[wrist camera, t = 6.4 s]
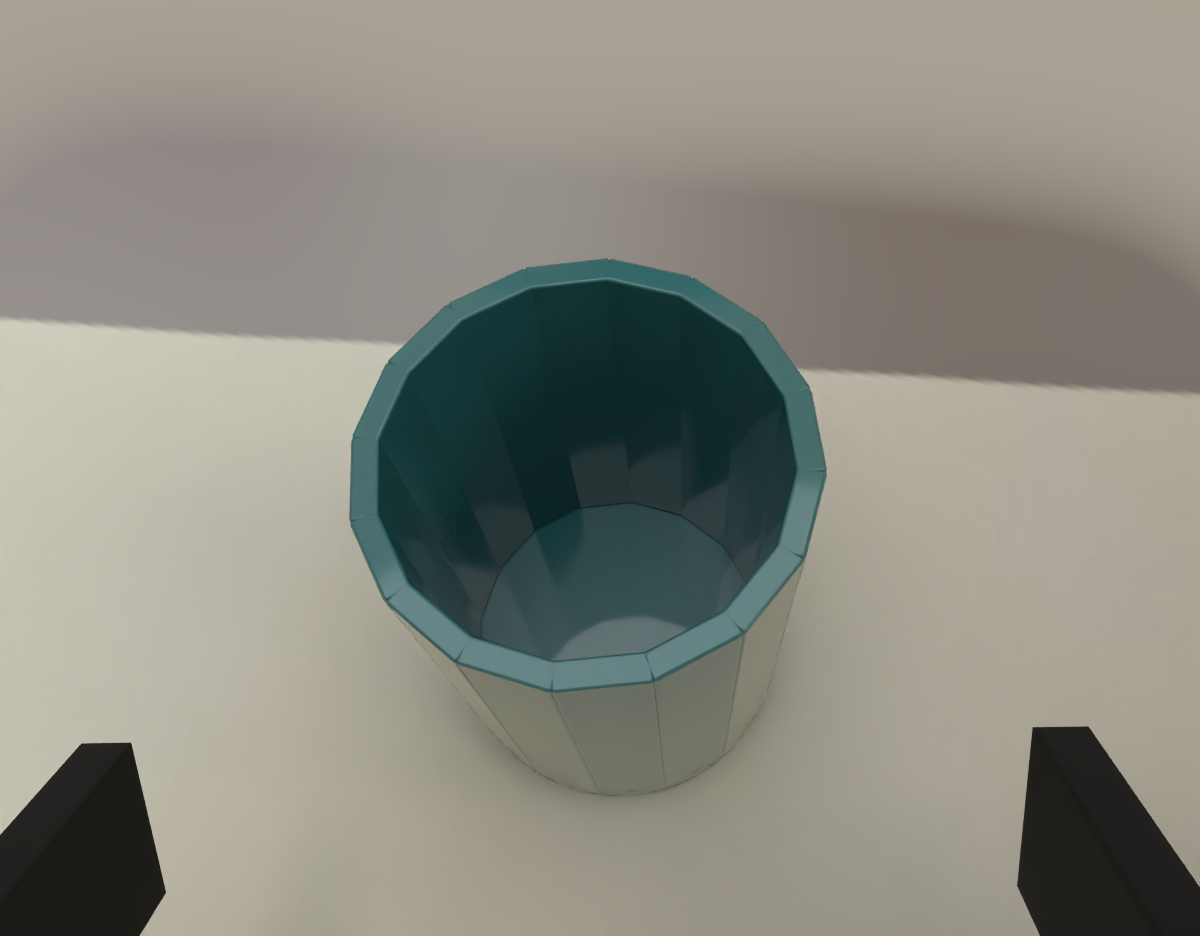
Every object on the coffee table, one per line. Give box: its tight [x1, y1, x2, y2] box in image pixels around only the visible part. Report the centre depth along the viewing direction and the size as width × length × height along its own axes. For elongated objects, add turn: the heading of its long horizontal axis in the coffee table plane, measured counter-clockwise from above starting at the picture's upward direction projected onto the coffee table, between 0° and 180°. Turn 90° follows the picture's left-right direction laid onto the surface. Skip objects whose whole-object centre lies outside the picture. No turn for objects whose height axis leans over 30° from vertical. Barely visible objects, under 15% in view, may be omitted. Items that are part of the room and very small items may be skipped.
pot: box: [349, 259, 827, 796], centre depth 23 cm, size 8×8×11 cm
